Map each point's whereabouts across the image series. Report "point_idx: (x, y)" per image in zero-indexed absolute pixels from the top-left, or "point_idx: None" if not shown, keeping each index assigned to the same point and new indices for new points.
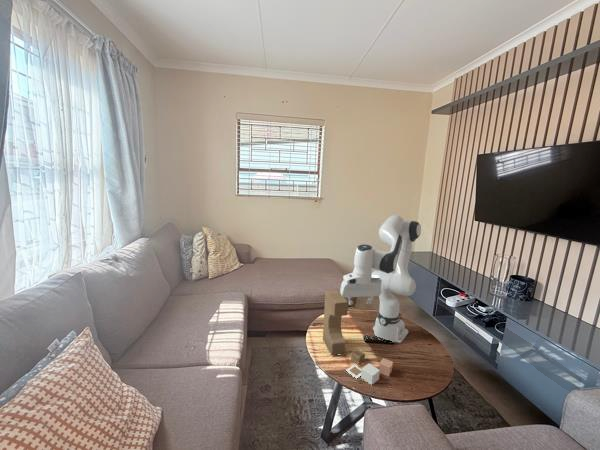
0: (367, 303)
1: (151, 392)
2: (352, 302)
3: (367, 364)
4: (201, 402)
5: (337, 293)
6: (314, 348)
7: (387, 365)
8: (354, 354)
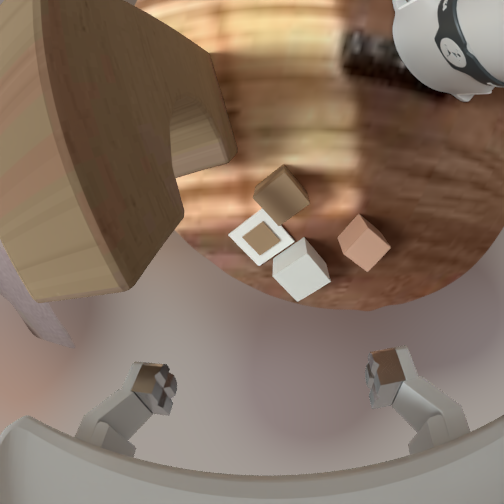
0: (367, 374)
1: None
2: (167, 409)
3: (299, 258)
4: (25, 298)
5: (12, 58)
6: None
7: (364, 263)
8: (263, 209)
